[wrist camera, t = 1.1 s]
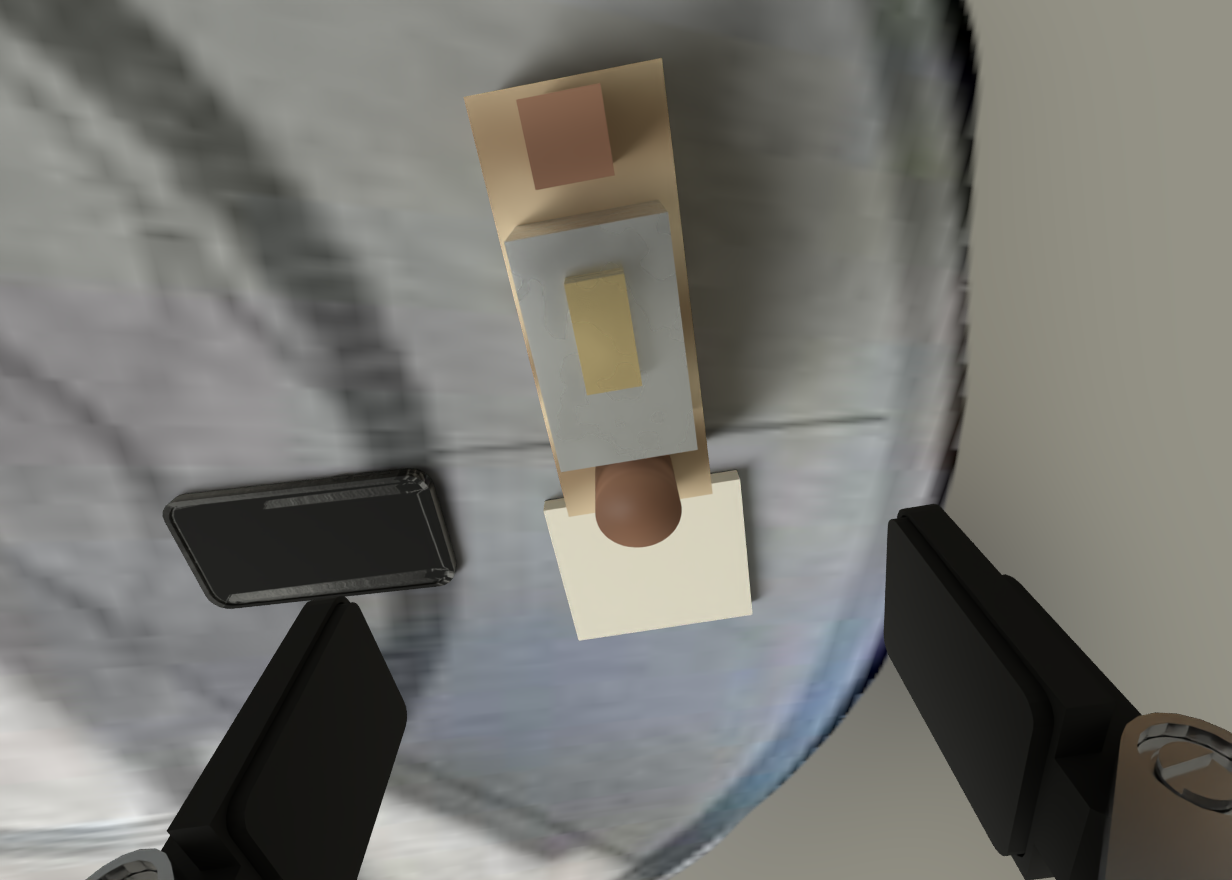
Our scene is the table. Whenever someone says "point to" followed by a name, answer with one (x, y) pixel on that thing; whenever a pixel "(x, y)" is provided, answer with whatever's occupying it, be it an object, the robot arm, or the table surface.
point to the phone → (314, 538)
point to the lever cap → (606, 333)
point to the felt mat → (656, 567)
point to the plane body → (581, 183)
